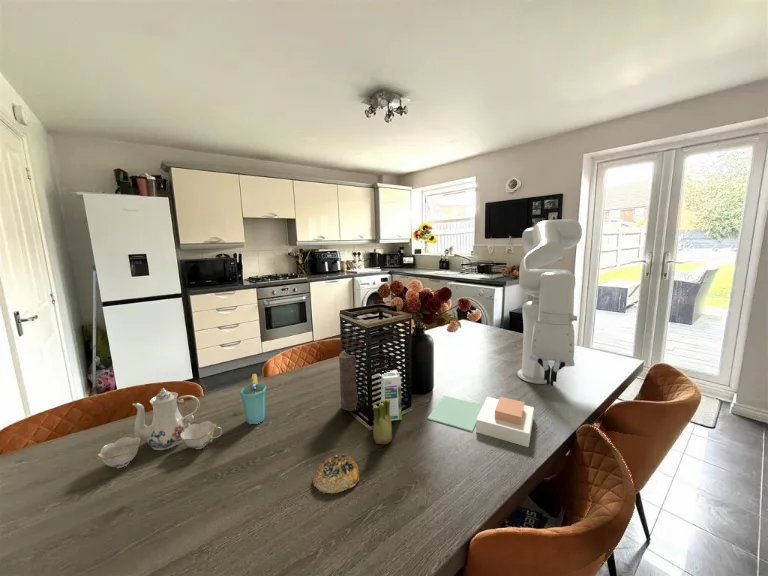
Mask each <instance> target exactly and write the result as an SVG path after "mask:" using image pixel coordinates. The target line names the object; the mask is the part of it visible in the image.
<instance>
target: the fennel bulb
mask: <svg viewBox="0 0 768 576" xmlns="http://www.w3.org/2000/svg"><path fill="white" fill-rule="evenodd" d="M392 426H393V425H392V421H391V418H390V400H388V399H387V400H382V403H381V402H380V403H379V405H375V404H374V405H373V439H374V443H375V444H377V445H388V444H389V443H391V442H392V439H393V433H392V432H393V428H392Z"/></svg>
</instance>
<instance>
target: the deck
mask: <svg viewBox="0 0 768 576" xmlns="http://www.w3.org/2000/svg"><path fill="white" fill-rule="evenodd" d="M499 399H500V398H494V397H491V396H486V399H485V401H484V403H483V404H482V405H483V407H482V409H481V411H480V413H479V415H478V417H477V419H476V425H475V433H478V434H480V435H484V436H488V437H491V438H495V439H498V440H502V441H505V442H510V443H513V444H517V445H519V446H523V447H526V448H530V447H529V446H530V442H531V435H532V429H533V428H532V427H533V423H534V415H535V414H534V412H535V411H534V409H535V407H534V406H530V405H526V404H524V412H523V417H522V421H521V425H518V424H514V423H510V422H506V421H502V420H498V419H494V418H495V409H496V406H497V404H498V401H499Z"/></svg>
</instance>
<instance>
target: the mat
mask: <svg viewBox="0 0 768 576" xmlns="http://www.w3.org/2000/svg"><path fill="white" fill-rule="evenodd" d="M483 405H484V404H482V403H481V404H480V403H476V402H472V401H468V400H463V399H461V398H455V397H451V396H448V395H443V396H442V398H441V399H440V401H439V402H438V403H437V404H436V406H435V407H434V408H433V410H432V411H431V412H430V414H429V415H428V417H427V418H426V419H427V420H430V421H433V422H436V423H440V424H443V425H446V426H450V427H453V428H456V429H461V430H464V431H467V432H471V433H473V431H474V430H475V428H476V419H477V417H478V415H479V413H480V411H481V409H482V407H483Z"/></svg>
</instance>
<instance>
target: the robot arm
mask: <svg viewBox="0 0 768 576" xmlns="http://www.w3.org/2000/svg"><path fill="white" fill-rule="evenodd" d="M582 233H583V229H582V225H581V223H580V222H579V221H578V220H576V219H571V218H570V219H568V218H567V219H566V218H563V219H547V220H542V221H540V222H539V221H538V222H537V223H536V224H535V225H534V226H533V227H529V228H526V229H525V230H523V232H522V236H521V241H522V248H523V251H524V253H525V256H523V258H522V259H521V261H520V264H519V270H518V272H519V273H518V276H519V277H518V282H519V284H518V285H519V289H520V290H521V292H522V293H523V294H526V295H529V296H531V297H535V298H539V299H538V300H529V301H528V300H527V301H526V302H525V303H523V304H522V308H521V309H522V310H521V312H522V320H523V321H522V323H523V341H522V355H521V356H522V357H521V358H522V360H521V368H520V369H519V370H517V377H518V378H520V379H521V380H523V381H525V382H527V383H530V384H531V383H532V384H536V385H537V384H538V385H545V384H546V385H547V386H549V385H550V386H554V382H555V383H557V378H558V372H559V371H560V370H561V369H563V368H564V367H574V366H575V360H574V358H575V328H574V326H575V325H574V324H573V322H575V321H576V322H577V321H578V315H574V312H575V311H574V310H575V309H574V306H575V288H576V277H575V275H574V274H573V273H572V271H571V270H569V269H561V268H560V269H559V268H556V269H555V268H554V269H553V264H554V263H556V262H558V261H559V260H561V258H562V257H563V256H564V251H565V250H570V249H572V248H574V247H576V246H577V245H578V244H579V243H580V241H581V238H582V235H583V234H582ZM550 361H553V362H554V363H553V366H552V367H551V366H550V364H549V362H550Z"/></svg>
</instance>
